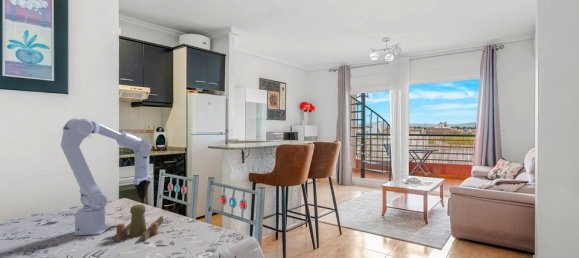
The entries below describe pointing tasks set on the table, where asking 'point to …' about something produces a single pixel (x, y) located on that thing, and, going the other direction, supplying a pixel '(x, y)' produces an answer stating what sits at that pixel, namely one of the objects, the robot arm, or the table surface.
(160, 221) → the guide channel
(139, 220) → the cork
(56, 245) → the table surface
